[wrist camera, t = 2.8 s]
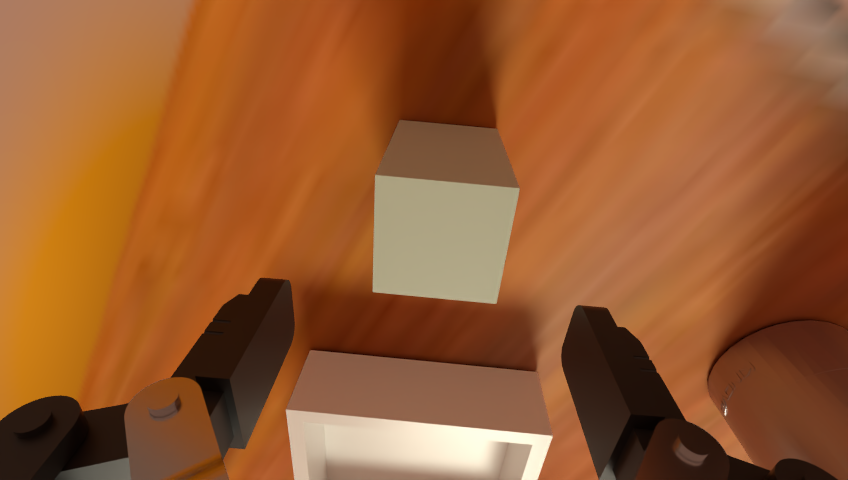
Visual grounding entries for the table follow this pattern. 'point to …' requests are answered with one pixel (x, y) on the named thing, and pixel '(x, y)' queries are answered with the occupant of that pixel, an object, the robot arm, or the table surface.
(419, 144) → the cream block
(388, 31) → the table surface
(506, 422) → the serving bin
